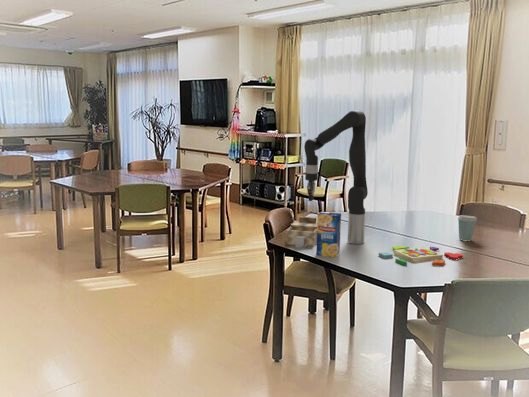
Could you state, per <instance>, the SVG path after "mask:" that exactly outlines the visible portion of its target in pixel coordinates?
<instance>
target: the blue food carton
mask: <svg viewBox="0 0 529 397" xmlns="http://www.w3.org/2000/svg"><path fill="white" fill-rule="evenodd" d="M316 222H317V243H316V249H315V250H316V251H315V252H316V254H315V255H316V256H321V255H322V257H329V256H331V257H332V258H337V257H338V256H339V255H340V248H341V226H342V225H341V224H342V213H339V212H329V211H320V212H318V213H317V218H316ZM331 257H330V258H331Z"/></svg>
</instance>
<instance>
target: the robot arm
mask: <svg viewBox="0 0 529 397" xmlns="http://www.w3.org/2000/svg"><path fill="white" fill-rule="evenodd" d="M366 119H367V118H366V114H365V113H364V111H362V110H350V111H349V112H347V113H346V114H345V115H344V116H343V117H342V118H341V119H339V120H338V121H337V122H336V123H334V124H333V125H332V126H330V127H329V128H327V129H325V130H323V131H322V132H320V133H318V135H317V136H316V137H314V138H309V139H307V140H306V141H305V142H304V153H305V158H306V159H305V163H306V164H305V174H304V175H305V178H304V179H305V180H306V181H308V182H307V186H306V190H307V195H308V202H313V200H314V194H315V192H316V191H315V189H316V183H315V182H316V181H318V180H319V179H318V178H319V166H318V165H319V157H318V155H316V151H318V150H320V149H321V148H323V147H324V146H325V145H326V144H328V143H330V142H331V141H333V140H334V139H336V138H337V137H338V136H340V134H341V133H343V132H345V131H346V130H349V129H352V138H351V142H350V145H349V151H348V161H349V162H348V164H349V166H350V167H349V168H350V169H351V173H352V176H353V184H352V185H353V186H352V187H351V188H349V190H348V192H347V208H348V221H347V222H348V223H347V243H349V244H353V245H363V244H364V243H365V229H366V226H365V223H366V220H365V219H366V209H365V207H364V202H365V201H364V200H366V198H367V196H368V194H369V193H368V190H369V189H368V185H367V177H366V176H367V175H366V172H367V170H366V169H367V167H366V166H367V165H366V163H367V161H366V160H367V159H366V158H367V157H366V156H367V154H366V137H365V136H366V123H367V120H366Z"/></svg>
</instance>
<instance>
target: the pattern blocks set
mask: <svg viewBox="0 0 529 397" xmlns="http://www.w3.org/2000/svg"><path fill="white" fill-rule="evenodd" d="M409 247H410V246H405V245H393V246H392V249H391V250H392V251H393V254H392V253H390V252H388V251H382V252H378V257H380V258H382V259H384V260H386V259H392V258H394V257H396V258H395V259H394V260H395V261H394V262H395V263H396V264H399V265H401V266H405V267H407V266H408V262H409V263H413V264H419V263H425V262H426V261H427V262H430V261H431V260H433V261H432V262H431V266H432V265H440V266H439V267H444V265H445V264H446V260H445V259H443V260H442V259H441V258H443V257H444V256H446V257H445V258H447V257H449V258H448V259H449V260H450V259H452V260H451V261H457V260H456V259H458V258H462V257H463V258H464V255H463V254H462V253H457V252H456V253H455V252H454V253H453V252H444V254H443V253H439V252H438V251H436V250H439V251H440V247H437V246H436V247H435V246H429V248H427V247H411V248H409ZM393 256H394V257H393ZM463 258H462V259H463ZM435 259H438V260H435ZM458 260H459V259H458ZM427 262H426V263H427ZM444 263H445V264H444Z"/></svg>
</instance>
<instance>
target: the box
mask: <svg viewBox="0 0 529 397" xmlns="http://www.w3.org/2000/svg"><path fill="white" fill-rule="evenodd" d="M297 236H305V245H307V247H315V246H316V245H317V228H307V227H294V226H291V225H290V227H288V228H287V229H286V243H285V244H286V245H294V246H295V245H296V237H297ZM315 244H316V245H315Z"/></svg>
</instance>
